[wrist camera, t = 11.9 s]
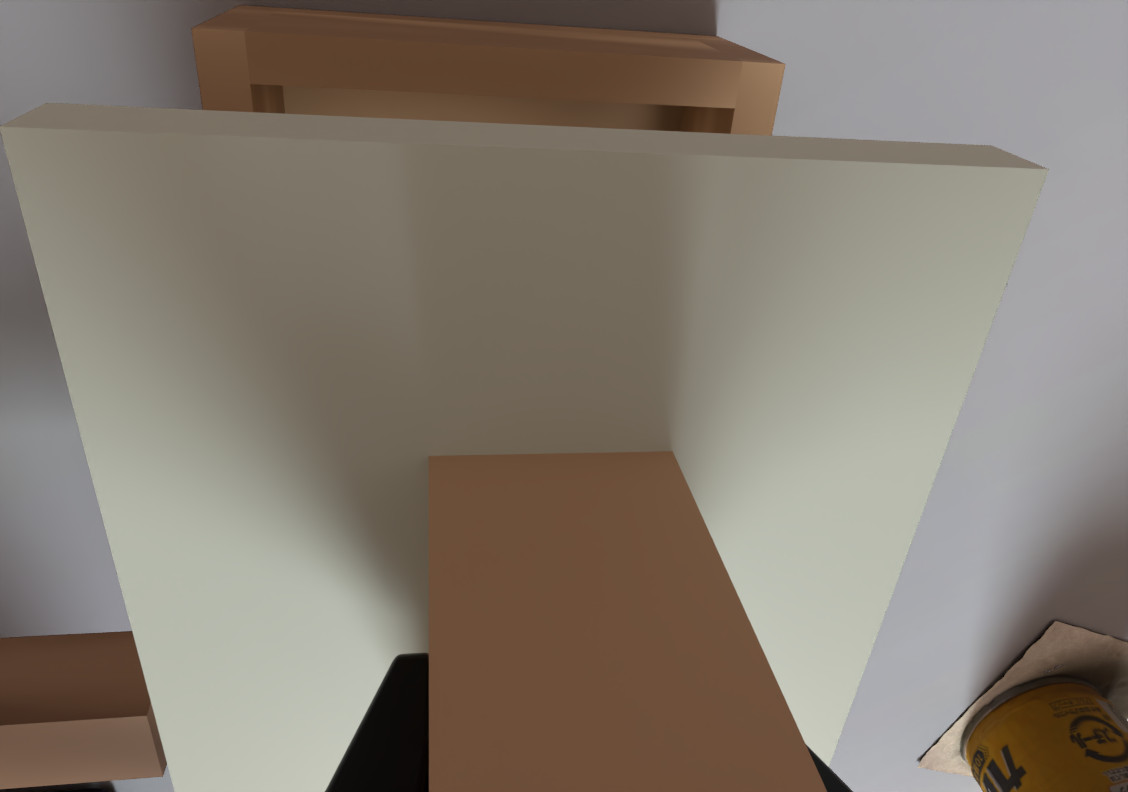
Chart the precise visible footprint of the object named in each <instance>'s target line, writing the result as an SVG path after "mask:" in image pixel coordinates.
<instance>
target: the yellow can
mask: <svg viewBox="0 0 1128 792" xmlns="http://www.w3.org/2000/svg"><path fill="white" fill-rule="evenodd" d="M1058 665H1062V666H1061V667H1059V668H1056V669H1054V667H1056V666H1058ZM1046 670H1051V671H1050V672H1048V673H1044V672H1045V671H1046ZM1127 719H1128V642H1125V641H1121V640H1118V639H1115V638H1113V637H1111V636H1109V635H1101V634H1097V633H1094V632H1091V631H1089V630H1086V629H1083V628H1080V627H1074V626H1071V625H1067V624H1064V623H1061V622H1058V621H1055V622H1054V623H1053V624H1052V625H1051V626H1050V627H1049V628H1048V629H1047V630H1046V632H1045V634H1044V635H1043V636H1042V637H1041V638H1040V639H1039V640H1038V641H1037V642H1036V643H1035V644H1033V645H1032V646H1031V647H1030V648H1029V649H1028V650H1027V651H1026V653H1025V655H1024V656H1023V658H1022V659H1021V660H1020V661H1018V662H1017V663H1016V664H1014V665H1013V667H1012V668H1011V669H1009V670H1008V671H1007V673H1006V674H1005V676H1004V677H1003V678H1002V679H1001V680H999V681H997V682H996V683H995V685H994V686H993V687H992V688H991V689H990V690H988V691H987V692H986V693H985V694H984V695H982V696H981V697H980V698H979V699H978V700H977V701H976V702H975V703H974V704H973V705H972V706H971V707H970V708H969V709H968V711H967V712H966V713H965V714H964V715H963V716H962V717H961V718H960V719H959V720H958V721H957V722H956V723H955V724H954V725H953V726H952V727H951V728H950V729H949V730H948V731H947V732H946V733H945V734H944V735H943V736H942V737H941V738H940V740H939V742H938V743H937V744H936V745H934V746H933V747H932V748H931V749H930V750H929V751H928V752H927V753H926V755H925V756H924V757H923V758H922V760H921V761H920V764H919V766H918V767H919V768H926V769H931V770H936V771H943V772H946V773H950V772H951V773H955V774H962V775H965V776H972V777H974V778H975V780H976V781H977V783H978V784H979V786H980V787H981V789H982V791H983V792H1128V721H1127Z"/></svg>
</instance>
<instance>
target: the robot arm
mask: <svg viewBox="0 0 1128 792" xmlns="http://www.w3.org/2000/svg"><path fill="white" fill-rule="evenodd" d="M806 746H807V745H806ZM807 748H808V751H809V753H810V755H811V757H812V759H813V762H814V764H815V766H816V768H817V770H818V773H819V775H820V777H821V779H822V781H823V784H824V786H825V788H826V790H827V792H853V791H852V790H851V789H850V788H849V787H848V786H847V785H846V784H845V783H844V782H843V781H842V780H841V779H840V778H839V777H838V776H837V775H836V774H835V773H834V772H833V771H832V770H831V769H830V768H829V767H828V766H827V765H826V764H825V763H824V762H823V761H822V760H821V759H820V758H819V757H818V756H817V755H816V754H815V753H814V752H813V751H812V750H811V749H810V748H809V747H808V746H807ZM59 792H110V791H108V790H105V789H84V790H72V791H59ZM325 792H429V653H408V654H399V655H397V656H396V657H395V658H394V660H393V661H392V663H391V665H390V667H389V669H388V671H387V673H386V675H385V677H384V678H383V680H382V682H381V684H380V686H379V688H378V690H377V692H376V694H375V696H374V698H373V700H372V702H371V704H370V706H369V707H368V709H367V711H366V713H365V715H364V717H363V719H362V721H361V723H360V725H359V727H358V729H357V731H356V733H355V734H354V736H353V738H352V740H351V742H350V744H349V746H348V748H347V750H346V752H345V754H344V756H343V758H342V760H341V761H340V763H339V765H338V767H337V769H336V771H335V773H334V775H333V777H332V779H331V781H330V783H329V785H328V787H327V788H326V790H325Z"/></svg>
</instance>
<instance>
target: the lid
mask: <svg viewBox="0 0 1128 792" xmlns="http://www.w3.org/2000/svg"><path fill="white" fill-rule="evenodd" d="M0 132H1V136H2V140H3V143H4V147H5V151H6V155H7V158H8V162H9V166H10V170H11V174H12V177H13V181H14V185H15V189H16V193H17V196H18V200H19V204H20V208H21V212H22V215H23V219H24V223H25V227H26V230H27V234H28V238H29V242H30V246H31V249H32V253H33V257H34V261H35V265H36V268H37V272H38V276H39V280H40V284H41V287H42V291H43V295H44V299H45V302H46V306H47V310H48V314H49V318H50V321H51V325H52V329H53V333H54V337H55V340H56V344H57V348H58V352H59V355H60V359H61V363H62V367H63V371H64V374H65V378H66V382H67V386H68V390H69V393H70V397H71V401H72V405H73V409H74V412H75V416H76V420H77V424H78V427H79V431H80V435H81V439H82V443H83V446H84V450H85V454H86V458H87V462H88V465H89V469H90V473H91V477H92V481H93V484H94V488H95V492H96V496H97V499H98V503H99V507H100V511H101V515H102V518H103V522H104V526H105V530H106V534H107V537H108V541H109V545H110V549H111V553H112V556H113V560H114V564H115V568H116V571H117V575H118V579H119V583H120V587H121V590H122V594H123V598H124V602H125V606H126V609H127V613H128V617H129V621H130V624H131V628H132V632H133V636H134V640H135V643H136V647H137V651H138V655H139V659H140V662H141V666H142V670H143V674H144V678H145V681H146V685H147V689H148V693H149V696H150V700H151V704H152V708H153V712H154V715H155V719H156V723H157V727H158V731H159V734H160V738H161V742H162V746H163V750H164V753H165V757H166V761H167V765H168V768H169V772H170V776H171V780H172V784H173V787H174V791H175V792H325V790H326V788H327V787H328V785H329V783H330V781H331V779H332V777H333V775H334V773H335V771H336V769H337V767H338V765H339V763H340V761H341V760H342V758H343V756H344V754H345V752H346V750H347V748H348V746H349V744H350V742H351V740H352V738H353V736H354V734H355V733H356V731H357V729H358V727H359V725H360V723H361V721H362V719H363V717H364V715H365V713H366V711H367V709H368V707H369V706H370V704H371V702H372V700H373V698H374V696H375V694H376V692H377V690H378V688H379V686H380V684H381V682H382V680H383V678H384V677H385V675H386V673H387V671H388V669H389V667H390V665H391V663H392V661H393V660H394V658H395V657H396V656H397V655H399V654H408V653H429V792H827V790H826V788H825V786H824V784H823V781H822V779H821V777H820V775H819V773H818V770H817V768H816V766H815V764H814V762H813V759H812V757H811V755H810V753H809V751H808V748H807V746H808V747H809V748H810V749H811V750H812V751H813V752H814V753H815V754H816V755H817V756H818V757H819V758H820V759H821V760H822V761H823V762H824V763H825V764H826V765H827V766H828V767H829V765H830V762H831V759H832V756H833V754H834V751H835V748H836V746H837V743H838V740H839V737H840V735H841V732H842V729H843V727H844V724H845V721H846V718H847V716H848V713H849V710H850V708H851V705H852V702H853V699H854V697H855V694H856V691H857V689H858V686H859V683H860V680H861V678H862V675H863V672H864V670H865V667H866V664H867V661H868V659H869V656H870V653H871V651H872V648H873V645H874V643H875V640H876V637H877V634H878V632H879V629H880V626H881V624H882V621H883V618H884V615H885V613H886V610H887V607H888V605H889V602H890V599H891V596H892V594H893V591H894V588H895V586H896V583H897V580H898V577H899V575H900V572H901V569H902V567H903V564H904V561H905V558H906V556H907V553H908V550H909V548H910V545H911V542H912V539H913V537H914V534H915V531H916V529H917V526H918V523H919V520H920V518H921V515H922V512H923V510H924V507H925V504H926V502H927V499H928V496H929V493H930V491H931V488H932V485H933V483H934V480H935V477H936V474H937V472H938V469H939V466H940V464H941V461H942V458H943V455H944V453H945V450H946V447H947V445H948V442H949V439H950V436H951V434H952V431H953V428H954V426H955V423H956V420H957V417H958V415H959V412H960V409H961V407H962V404H963V401H964V398H965V396H966V393H967V390H968V388H969V385H970V382H971V379H972V377H973V374H974V371H975V369H976V366H977V363H978V361H979V358H980V355H981V352H982V350H983V347H984V344H985V342H986V339H987V336H988V333H989V331H990V328H991V325H992V323H993V320H994V317H995V314H996V312H997V309H998V306H999V304H1000V301H1001V298H1002V295H1003V293H1004V290H1005V287H1006V285H1007V282H1008V279H1009V276H1010V274H1011V271H1012V268H1013V266H1014V263H1015V260H1016V257H1017V255H1018V252H1019V249H1020V247H1021V244H1022V241H1023V239H1024V236H1025V233H1026V230H1027V228H1028V225H1029V222H1030V220H1031V217H1032V214H1033V211H1034V209H1035V206H1036V203H1037V201H1038V198H1039V195H1040V192H1041V190H1042V187H1043V184H1044V182H1045V179H1046V176H1047V173H1048V171H1049V169H1047V168H1045V167H1042V166H1040V165H1037V164H1035V163H1032V162H1030V161H1028V160H1025V159H1023V158H1020V157H1018V156H1016V155H1013V154H1011V153H1008V152H1006V151H1003V150H1001V149H999V148H996V147H994V146H988V145H966V144H944V143H922V142H900V141H878V140H856V139H834V138H811V137H789V136H767V135H745V134H723V133H701V132H679V131H657V130H635V129H612V128H590V127H568V126H546V125H524V124H502V123H480V122H458V121H435V120H413V119H391V118H369V117H347V116H325V115H303V114H281V113H258V112H236V111H214V110H192V109H170V108H148V107H126V106H104V105H81V104H59V103H46V104H44V105H42V106H40V107H38V108H36V109H34V110H32V111H30V112H28V113H26V114H24V115H22V116H20V117H18V118H16V119H14V120H12V121H10V122H8V123H6V124H4V125H2V126H0ZM806 745H807V746H806Z"/></svg>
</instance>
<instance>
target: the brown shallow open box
mask: <svg viewBox="0 0 1128 792" xmlns="http://www.w3.org/2000/svg"><path fill="white" fill-rule="evenodd" d="M191 30H192V37H193V44H194V51H195V58H196V65H197V73H198V80H199V87H200V94H201V101H202V108H203V110H214V111H236V112H258V113H281V114H303V115H325V116H347V117H369V118H391V119H413V120H435V121H458V122H480V123H502V124H524V125H546V126H568V127H590V128H612V129H635V130H657V131H679V132H701V133H723V134H745V135H767V136H772V131H773V126H774V120H775V115H776V110H777V105H778V100H779V95H780V90H781V84H782V79H783V74H784V69H785V64H784V63H782V62H779V61H777V60H774V59H772V58H769V57H767V56H764V55H762V54H760V53H757V52H755V51H752V50H750V49H747V48H745V47H742V46H740V45H738V44H735V43H733V42H730V41H728V40H725V39H723V38H720V37H718V36H707V35H691V34H676V33H661V32H645V31H630V30H615V29H599V28H584V27H569V26H553V25H538V24H523V23H508V22H492V21H477V20H462V19H446V18H431V17H416V16H400V15H385V14H370V13H355V12H339V11H324V10H309V9H293V8H278V7H263V6H247V5H239V6H237V7H235V8H233V9H231V10H229V11H227V12H224V13H222V14H220V15H218V16H216V17H214V18H212V19H210V20H208V21H205V22H203V23H201V24H199V25H197V26H195V27H193V28H191Z"/></svg>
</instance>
